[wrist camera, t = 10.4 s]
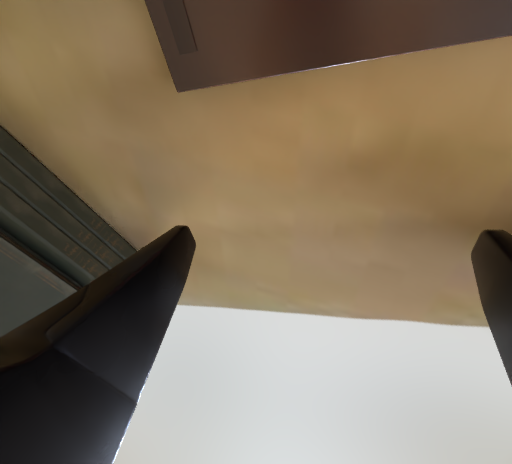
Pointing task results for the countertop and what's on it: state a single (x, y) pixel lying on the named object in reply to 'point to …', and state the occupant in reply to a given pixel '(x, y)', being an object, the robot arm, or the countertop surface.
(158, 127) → the countertop surface
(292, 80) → the countertop surface
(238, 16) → the cutting board
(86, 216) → the dark grey display stand
